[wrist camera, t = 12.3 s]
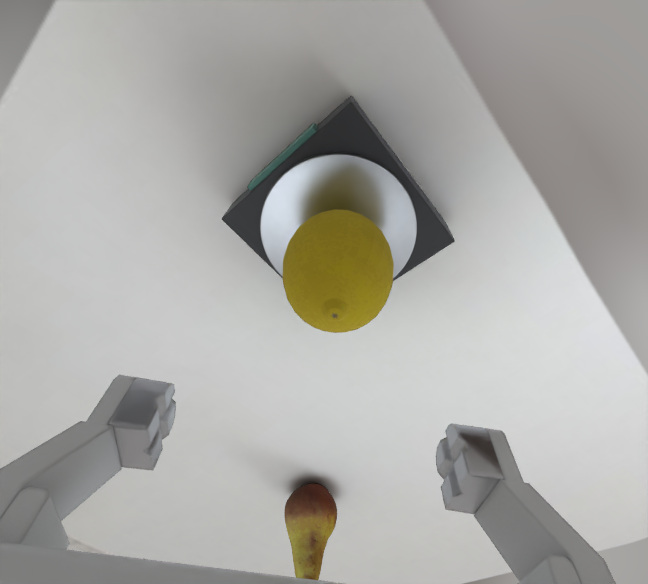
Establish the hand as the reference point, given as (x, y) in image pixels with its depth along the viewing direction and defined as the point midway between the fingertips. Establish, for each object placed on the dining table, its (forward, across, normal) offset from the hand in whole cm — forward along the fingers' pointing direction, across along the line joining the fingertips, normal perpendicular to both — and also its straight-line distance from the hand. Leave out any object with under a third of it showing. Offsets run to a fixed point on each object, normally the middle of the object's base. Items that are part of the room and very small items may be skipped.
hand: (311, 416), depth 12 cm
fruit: (+16, -4, +33) cm, 37 cm away
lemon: (+14, -1, +1) cm, 14 cm away
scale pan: (+14, -1, +1) cm, 14 cm away
